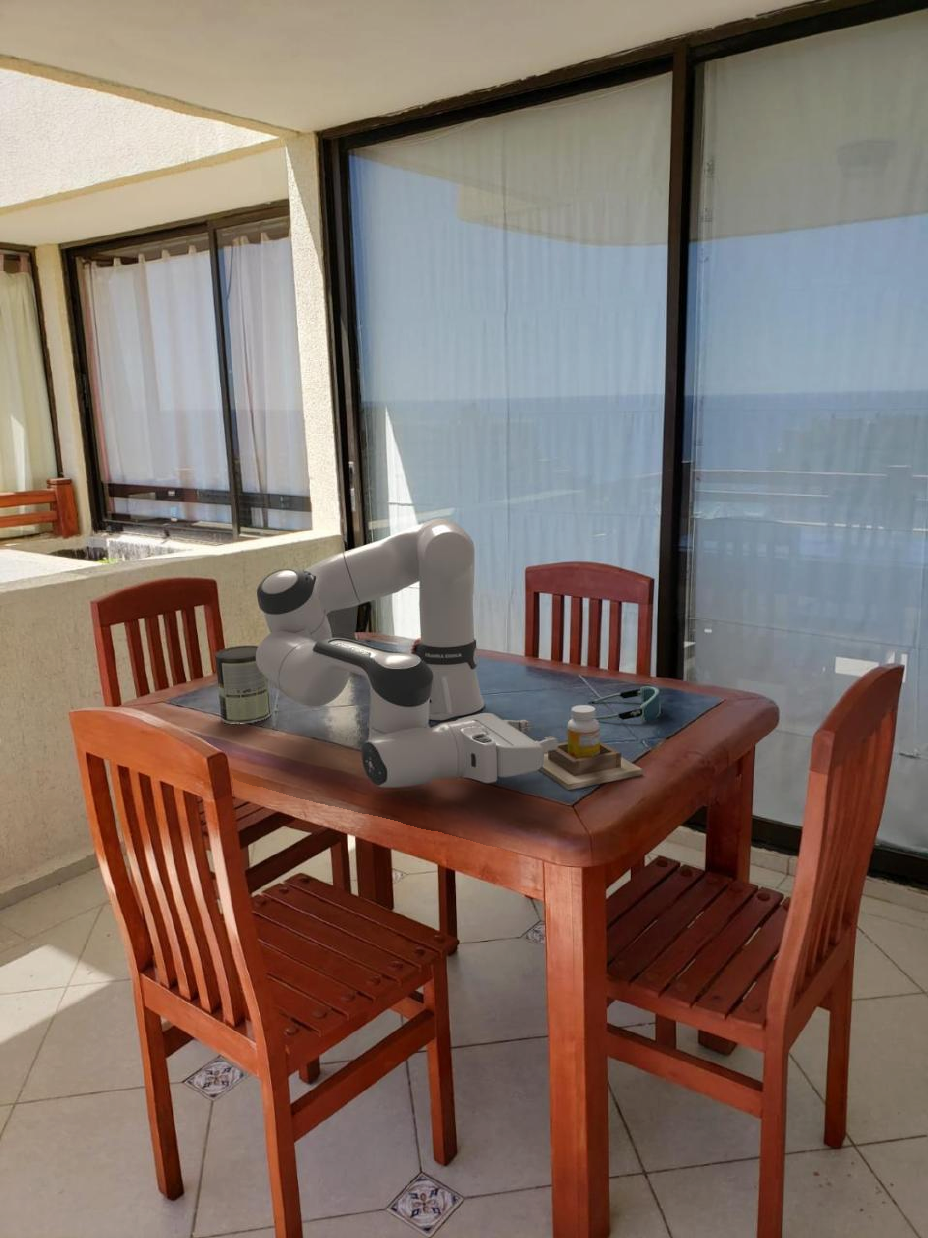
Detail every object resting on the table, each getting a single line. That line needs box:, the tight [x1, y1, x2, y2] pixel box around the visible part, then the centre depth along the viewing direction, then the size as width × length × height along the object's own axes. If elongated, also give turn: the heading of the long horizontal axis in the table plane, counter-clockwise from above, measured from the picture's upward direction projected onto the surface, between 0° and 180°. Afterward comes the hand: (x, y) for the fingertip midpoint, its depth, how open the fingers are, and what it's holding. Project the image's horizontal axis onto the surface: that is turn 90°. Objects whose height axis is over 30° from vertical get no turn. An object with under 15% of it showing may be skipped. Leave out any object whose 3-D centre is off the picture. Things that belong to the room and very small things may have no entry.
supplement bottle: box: [567, 704, 601, 759], centre depth 158 cm, size 5×5×10 cm
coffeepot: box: [326, 601, 372, 641], centre depth 232 cm, size 15×9×18 cm, turn 125°
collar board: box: [538, 740, 643, 791], centre depth 159 cm, size 14×14×4 cm
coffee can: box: [214, 645, 272, 724], centre depth 192 cm, size 10×10×14 cm
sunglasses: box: [588, 686, 662, 723], centre depth 188 cm, size 14×15×5 cm
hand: (542, 733), depth 154 cm, fingers open, 8 cm apart
